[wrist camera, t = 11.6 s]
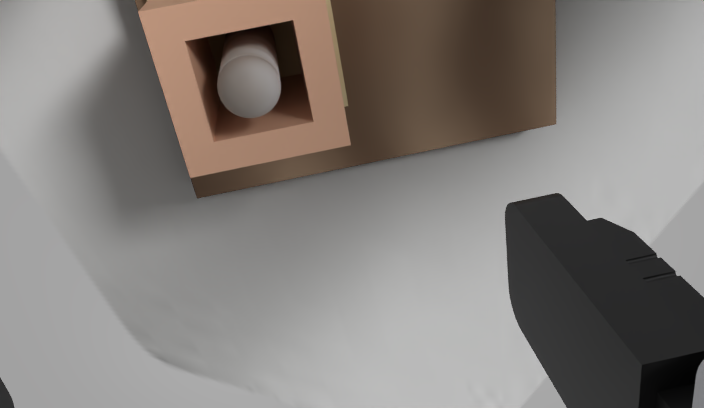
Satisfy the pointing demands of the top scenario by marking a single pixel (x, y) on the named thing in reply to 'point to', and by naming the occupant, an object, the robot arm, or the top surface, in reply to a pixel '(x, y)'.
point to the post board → (399, 79)
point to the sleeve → (201, 81)
